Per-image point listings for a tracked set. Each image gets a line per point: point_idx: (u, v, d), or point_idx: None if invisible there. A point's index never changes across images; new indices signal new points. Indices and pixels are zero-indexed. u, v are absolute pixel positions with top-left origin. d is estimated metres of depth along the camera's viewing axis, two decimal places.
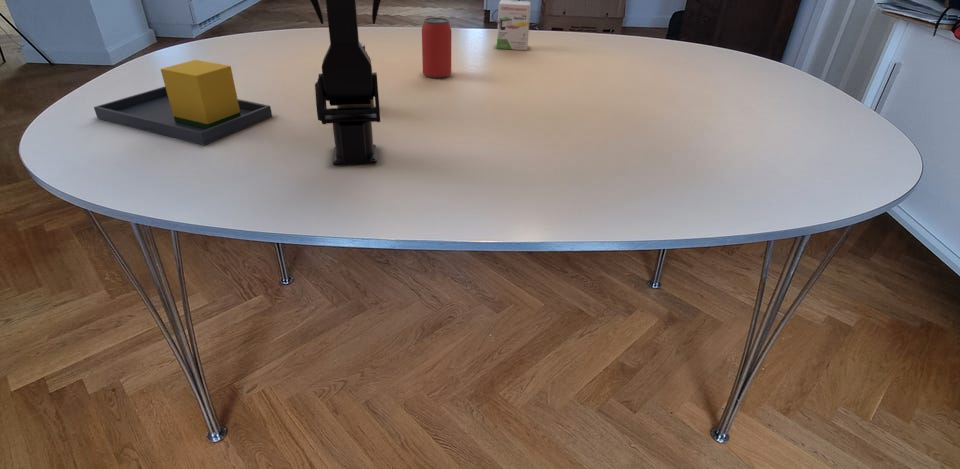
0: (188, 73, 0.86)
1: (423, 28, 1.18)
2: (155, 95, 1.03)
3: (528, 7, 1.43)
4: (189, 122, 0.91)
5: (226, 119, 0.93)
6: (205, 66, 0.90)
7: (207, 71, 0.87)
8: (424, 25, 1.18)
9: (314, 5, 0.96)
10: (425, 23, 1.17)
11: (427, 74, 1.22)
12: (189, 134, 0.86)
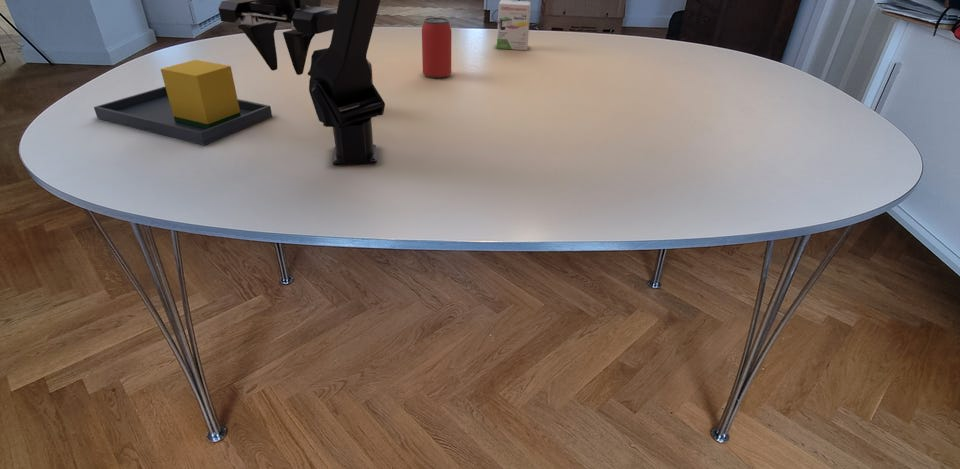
0: (188, 73, 0.86)
1: (423, 28, 1.18)
2: (155, 95, 1.03)
3: (528, 7, 1.43)
4: (189, 122, 0.91)
5: (226, 119, 0.93)
6: (205, 66, 0.90)
7: (207, 71, 0.87)
8: (424, 25, 1.18)
9: (258, 50, 0.85)
10: (425, 23, 1.17)
11: (427, 74, 1.22)
12: (189, 134, 0.86)
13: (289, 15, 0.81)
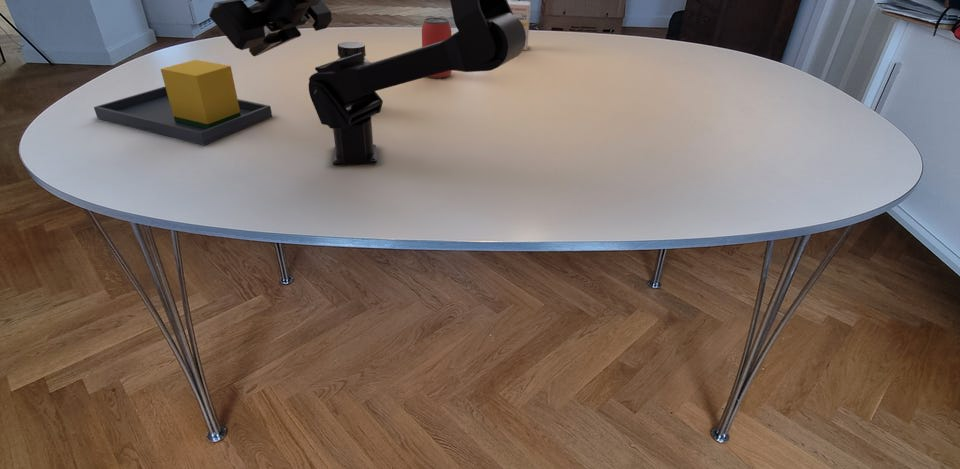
0: (188, 73, 0.86)
1: (423, 28, 1.18)
2: (155, 95, 1.03)
3: (528, 7, 1.43)
4: (189, 122, 0.91)
5: (226, 119, 0.93)
6: (205, 66, 0.90)
7: (207, 71, 0.87)
8: (424, 25, 1.18)
9: (264, 50, 0.80)
10: (425, 23, 1.17)
11: None
12: (189, 134, 0.86)
13: None
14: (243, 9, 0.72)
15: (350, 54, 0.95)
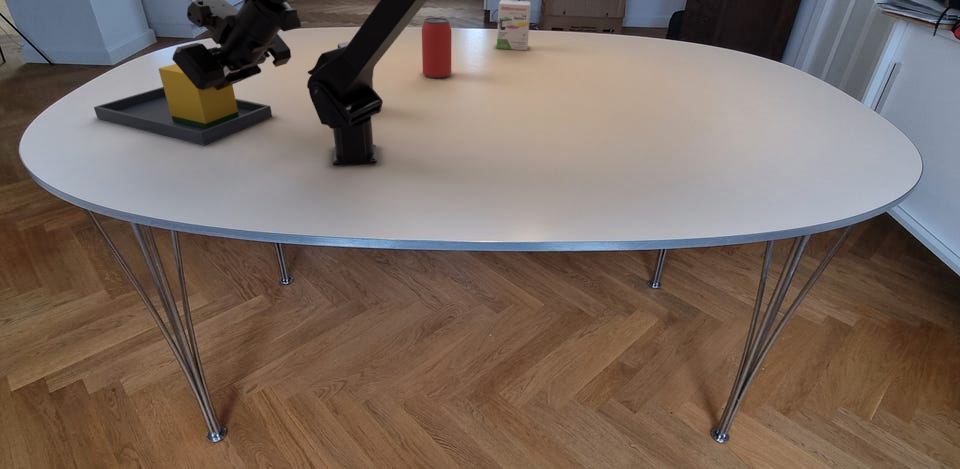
0: None
1: (423, 28, 1.18)
2: (155, 95, 1.03)
3: (528, 7, 1.43)
4: (187, 121, 0.91)
5: (224, 118, 0.93)
6: None
7: None
8: (424, 25, 1.18)
9: (226, 85, 0.87)
10: (425, 23, 1.17)
11: (427, 74, 1.22)
12: (189, 134, 0.86)
13: None
14: (204, 53, 0.78)
15: None
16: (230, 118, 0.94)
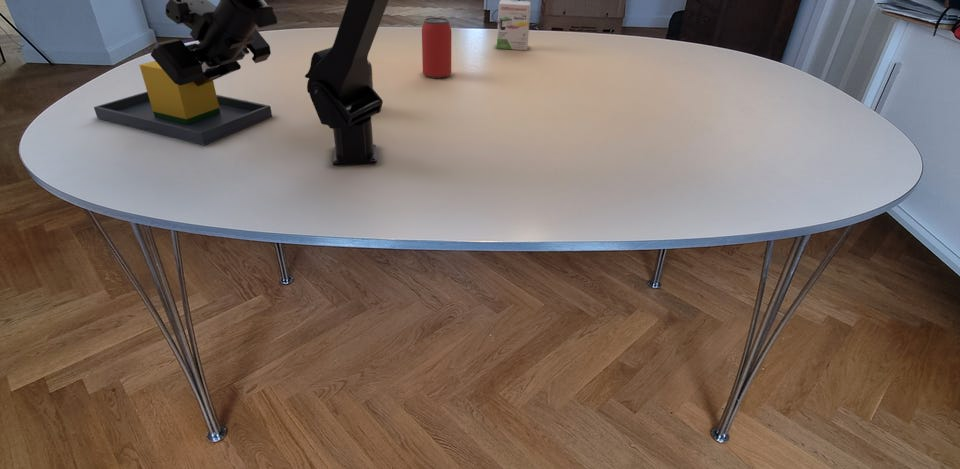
0: None
1: (423, 28, 1.18)
2: None
3: (528, 7, 1.43)
4: (168, 117, 0.93)
5: (205, 114, 0.94)
6: None
7: None
8: (424, 25, 1.18)
9: (206, 81, 0.88)
10: (425, 23, 1.17)
11: (427, 74, 1.22)
12: (189, 134, 0.86)
13: None
14: (182, 49, 0.80)
15: None
16: (211, 114, 0.95)
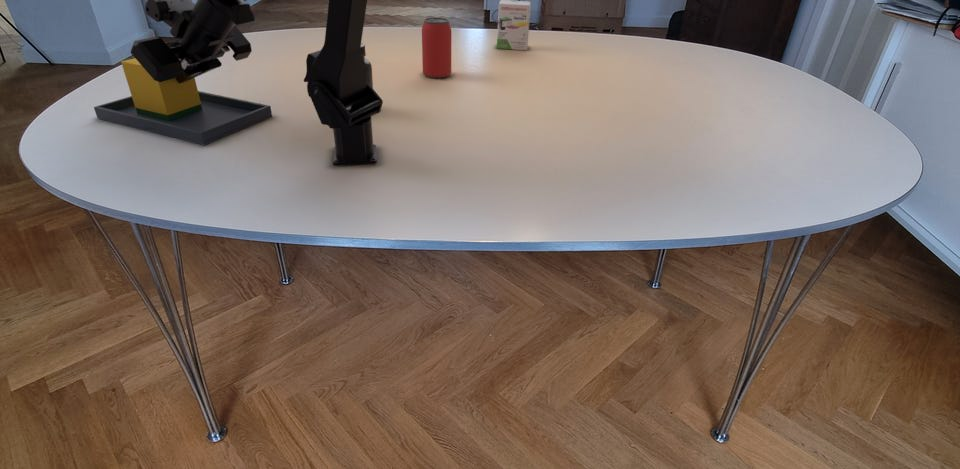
0: None
1: (423, 28, 1.18)
2: None
3: (528, 7, 1.43)
4: (150, 113, 0.94)
5: (186, 110, 0.96)
6: None
7: None
8: (424, 25, 1.18)
9: (187, 78, 0.90)
10: (425, 23, 1.17)
11: (427, 74, 1.22)
12: (189, 134, 0.86)
13: None
14: (161, 46, 0.81)
15: None
16: (193, 110, 0.97)
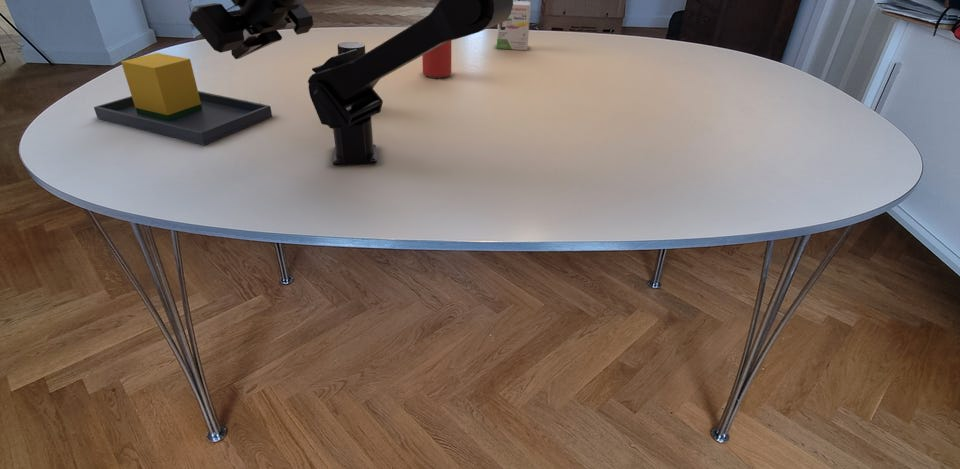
0: (147, 65, 0.89)
1: None
2: None
3: (528, 7, 1.43)
4: (150, 113, 0.94)
5: (186, 110, 0.96)
6: (165, 59, 0.93)
7: (166, 63, 0.90)
8: None
9: (245, 53, 0.82)
10: None
11: (427, 74, 1.22)
12: (189, 134, 0.86)
13: None
14: (222, 13, 0.73)
15: None
16: (193, 110, 0.97)
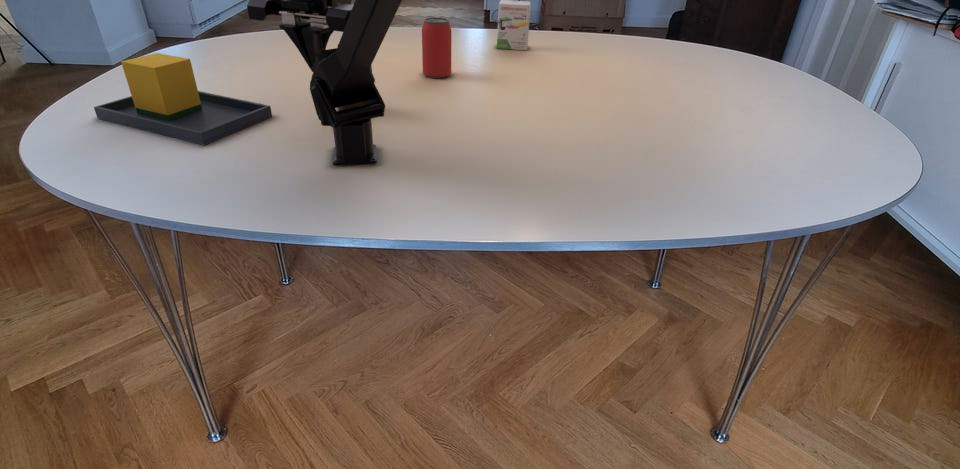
0: (147, 65, 0.89)
1: (423, 28, 1.18)
2: None
3: (528, 7, 1.43)
4: (150, 113, 0.94)
5: (186, 110, 0.96)
6: (165, 59, 0.93)
7: (166, 63, 0.90)
8: (424, 25, 1.18)
9: (300, 51, 0.81)
10: (425, 23, 1.17)
11: (427, 74, 1.22)
12: (189, 134, 0.86)
13: (308, 11, 0.79)
14: None
15: None
16: (193, 110, 0.97)
